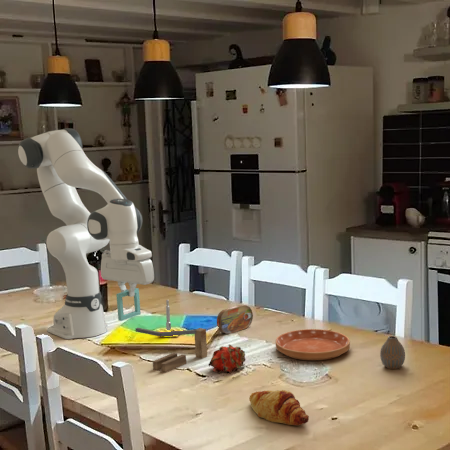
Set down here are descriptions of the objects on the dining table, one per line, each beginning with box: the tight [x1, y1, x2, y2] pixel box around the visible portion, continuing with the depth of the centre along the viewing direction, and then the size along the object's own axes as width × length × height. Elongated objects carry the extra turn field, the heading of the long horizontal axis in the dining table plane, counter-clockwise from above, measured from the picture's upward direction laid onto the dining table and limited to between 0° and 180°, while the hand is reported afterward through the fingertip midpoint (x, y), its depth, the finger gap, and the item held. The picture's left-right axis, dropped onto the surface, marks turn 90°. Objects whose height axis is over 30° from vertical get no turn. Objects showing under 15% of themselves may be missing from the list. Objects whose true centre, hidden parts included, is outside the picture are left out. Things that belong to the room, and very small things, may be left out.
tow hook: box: [165, 299, 172, 330], centre depth 238 cm, size 8×13×9 cm
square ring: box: [115, 287, 141, 322], centre depth 215 cm, size 1×8×8 cm, turn 142°
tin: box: [216, 304, 254, 335], centre depth 239 cm, size 15×3×8 cm, turn 131°
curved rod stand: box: [135, 327, 208, 359], centre depth 212 cm, size 21×12×10 cm, turn 52°
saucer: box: [275, 328, 351, 361], centre depth 215 cm, size 23×23×4 cm
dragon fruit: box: [208, 344, 246, 374], centre depth 199 cm, size 8×8×12 cm
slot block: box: [152, 352, 187, 373], centre depth 203 cm, size 5×9×4 cm, turn 142°
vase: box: [379, 335, 406, 370], centre depth 197 cm, size 7×7×9 cm
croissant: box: [249, 389, 310, 426], centre depth 168 cm, size 21×10×8 cm, turn 37°
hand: (128, 295), depth 214 cm, fingers closed on square ring, 1 cm apart
